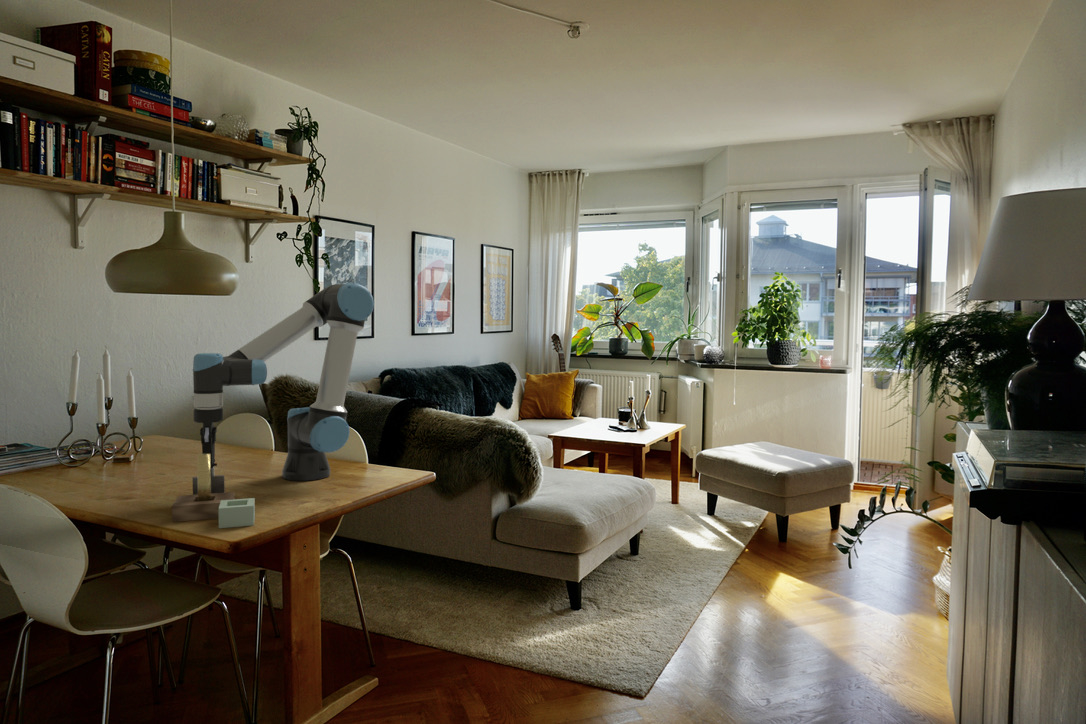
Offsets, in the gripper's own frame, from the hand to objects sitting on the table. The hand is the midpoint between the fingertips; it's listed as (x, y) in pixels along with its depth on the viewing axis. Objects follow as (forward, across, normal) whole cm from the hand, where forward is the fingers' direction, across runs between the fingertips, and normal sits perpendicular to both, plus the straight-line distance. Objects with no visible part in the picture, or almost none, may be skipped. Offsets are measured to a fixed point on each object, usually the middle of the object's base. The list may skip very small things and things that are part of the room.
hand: (209, 489), depth 195 cm
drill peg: (+3, +14, 0) cm, 15 cm away
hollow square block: (+3, +25, +9) cm, 27 cm away
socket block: (+3, +14, 0) cm, 15 cm away
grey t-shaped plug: (+3, +7, 0) cm, 8 cm away
